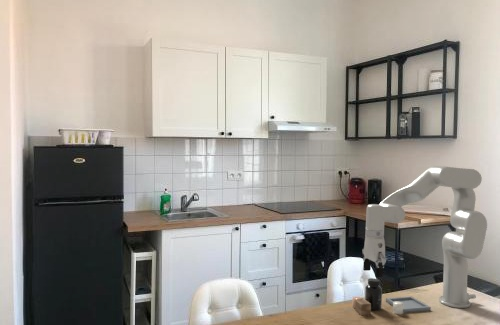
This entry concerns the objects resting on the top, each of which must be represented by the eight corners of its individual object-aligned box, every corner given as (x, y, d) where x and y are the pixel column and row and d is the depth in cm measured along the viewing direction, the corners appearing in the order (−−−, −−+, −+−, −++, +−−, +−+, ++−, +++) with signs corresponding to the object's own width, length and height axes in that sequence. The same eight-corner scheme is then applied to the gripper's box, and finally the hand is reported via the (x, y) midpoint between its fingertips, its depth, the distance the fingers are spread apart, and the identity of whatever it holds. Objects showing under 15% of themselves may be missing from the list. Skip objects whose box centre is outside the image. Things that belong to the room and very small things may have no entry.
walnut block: (365, 310, 170) (365, 299, 170) (370, 314, 166) (370, 303, 166) (355, 311, 169) (355, 300, 169) (360, 315, 165) (361, 304, 165)
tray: (411, 299, 183) (411, 296, 183) (430, 310, 171) (430, 307, 171) (385, 301, 180) (385, 298, 180) (403, 312, 168) (403, 309, 168)
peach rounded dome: (359, 305, 175) (359, 296, 175) (364, 309, 171) (364, 299, 171) (351, 306, 174) (351, 297, 174) (355, 309, 170) (355, 300, 170)
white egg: (399, 310, 170) (399, 301, 170) (405, 314, 167) (405, 304, 166) (390, 311, 169) (391, 301, 169) (396, 314, 166) (396, 305, 165)
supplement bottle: (382, 311, 169) (383, 283, 169) (365, 310, 170) (366, 281, 170) (380, 305, 176) (381, 278, 175) (364, 304, 177) (364, 276, 177)
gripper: (394, 237, 165) (392, 279, 165) (371, 229, 181) (370, 267, 182) (377, 237, 163) (375, 280, 163) (356, 229, 180) (354, 268, 180)
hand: (372, 273), depth 172 cm, fingers open, 9 cm apart
